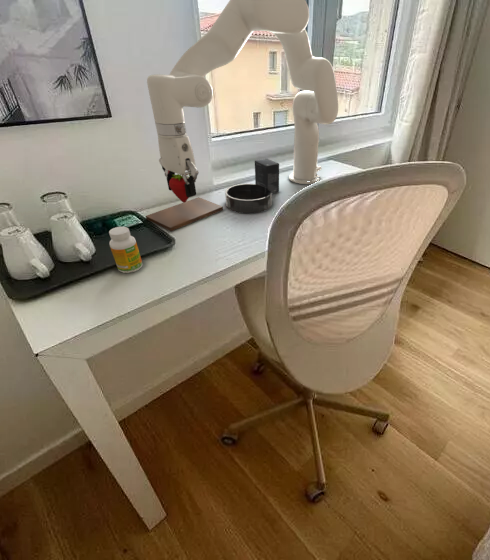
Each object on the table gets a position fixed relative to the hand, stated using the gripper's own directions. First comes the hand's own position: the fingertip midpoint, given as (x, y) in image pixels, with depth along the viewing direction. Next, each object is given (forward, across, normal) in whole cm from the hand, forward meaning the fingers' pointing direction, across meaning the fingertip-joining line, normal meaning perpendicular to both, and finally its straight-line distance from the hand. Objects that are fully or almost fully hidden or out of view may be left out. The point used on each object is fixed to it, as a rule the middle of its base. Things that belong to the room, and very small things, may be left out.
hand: (182, 192), depth 96 cm
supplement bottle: (+7, -14, +27) cm, 31 cm away
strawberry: (+3, 0, 0) cm, 3 cm away
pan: (+7, -9, -19) cm, 22 cm away
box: (+7, -5, -33) cm, 34 cm away
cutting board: (+7, 0, 0) cm, 7 cm away
